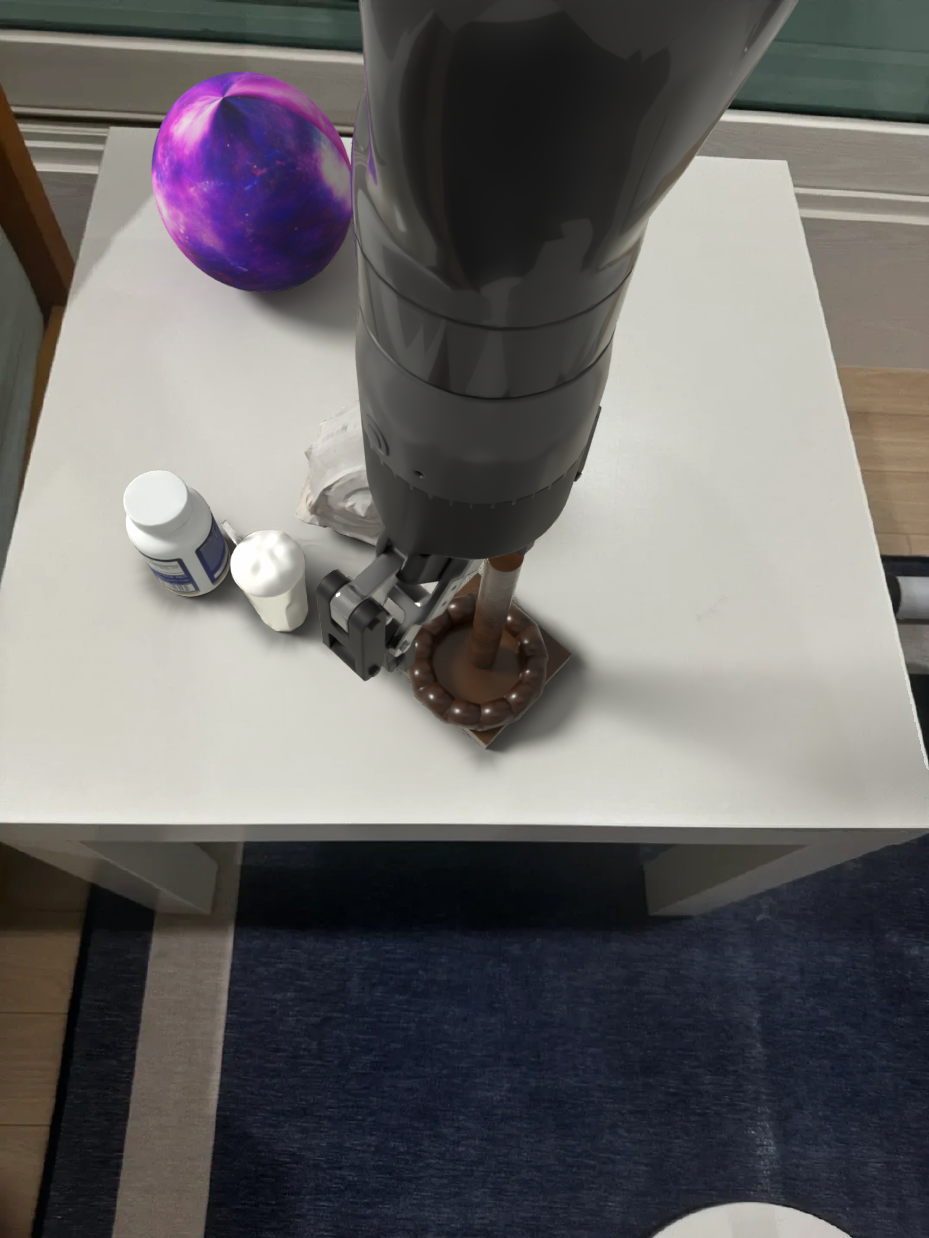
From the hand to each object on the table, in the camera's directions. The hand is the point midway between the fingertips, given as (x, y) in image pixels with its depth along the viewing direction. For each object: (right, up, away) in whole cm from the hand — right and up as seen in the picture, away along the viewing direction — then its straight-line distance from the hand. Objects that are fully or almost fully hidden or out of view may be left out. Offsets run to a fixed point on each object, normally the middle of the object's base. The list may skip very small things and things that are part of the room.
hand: (455, 595), depth 42 cm
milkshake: (-13, 0, +19) cm, 23 cm away
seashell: (-7, +9, +23) cm, 26 cm away
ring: (+1, -4, +16) cm, 16 cm away
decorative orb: (-16, +29, +31) cm, 45 cm away
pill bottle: (-19, +3, +20) cm, 28 cm away
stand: (+2, -4, +18) cm, 19 cm away
